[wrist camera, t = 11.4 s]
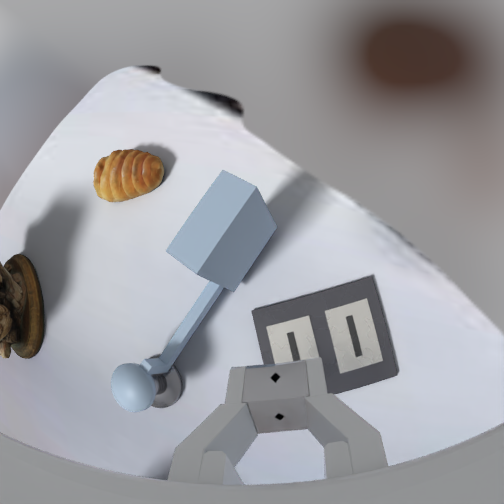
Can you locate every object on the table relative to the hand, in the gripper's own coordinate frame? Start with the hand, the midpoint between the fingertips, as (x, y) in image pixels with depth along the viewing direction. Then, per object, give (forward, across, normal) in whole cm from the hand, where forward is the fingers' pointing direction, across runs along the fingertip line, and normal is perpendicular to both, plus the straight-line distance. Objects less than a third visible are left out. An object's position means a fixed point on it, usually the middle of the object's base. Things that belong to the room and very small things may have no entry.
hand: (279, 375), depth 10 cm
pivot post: (+12, +14, +13) cm, 22 cm away
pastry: (+28, +17, -5) cm, 33 cm away
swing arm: (+15, +8, +7) cm, 19 cm away
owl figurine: (+21, +39, +7) cm, 45 cm away
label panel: (+13, -3, +10) cm, 16 cm away
